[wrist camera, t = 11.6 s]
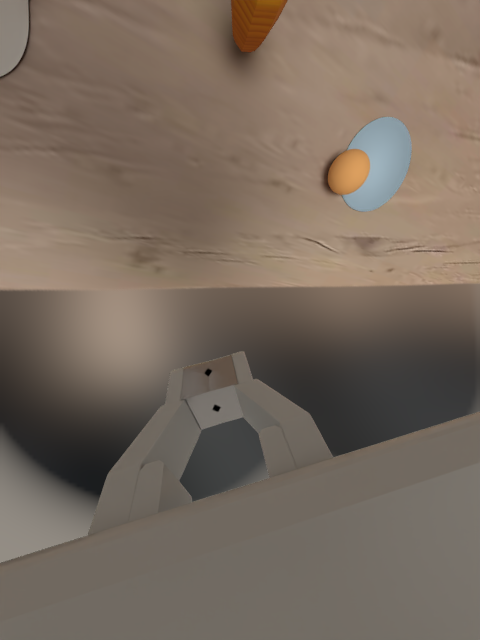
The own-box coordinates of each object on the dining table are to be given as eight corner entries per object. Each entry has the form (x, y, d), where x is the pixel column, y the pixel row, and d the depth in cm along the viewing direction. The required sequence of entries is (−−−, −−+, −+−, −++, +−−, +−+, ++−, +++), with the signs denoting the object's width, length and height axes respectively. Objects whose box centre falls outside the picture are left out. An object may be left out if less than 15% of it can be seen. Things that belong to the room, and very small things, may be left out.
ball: (373, 136, 25) (366, 146, 29) (326, 154, 27) (326, 161, 32) (373, 186, 27) (367, 188, 32) (329, 199, 30) (329, 199, 34)
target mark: (342, 126, 29) (342, 126, 29) (419, 109, 30) (420, 109, 29) (337, 218, 35) (338, 218, 35) (400, 202, 36) (401, 202, 36)
